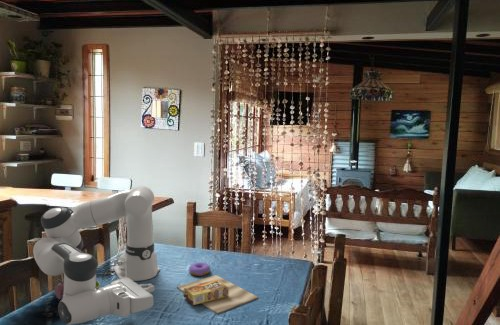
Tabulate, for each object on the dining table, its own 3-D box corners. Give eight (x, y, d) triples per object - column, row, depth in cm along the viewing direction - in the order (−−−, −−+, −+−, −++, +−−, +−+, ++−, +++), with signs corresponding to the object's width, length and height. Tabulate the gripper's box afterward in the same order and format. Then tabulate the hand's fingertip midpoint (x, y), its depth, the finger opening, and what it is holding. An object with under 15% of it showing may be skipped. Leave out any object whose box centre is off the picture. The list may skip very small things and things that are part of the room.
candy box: (192, 305, 142) (228, 297, 150) (193, 294, 141) (229, 286, 150) (183, 296, 149) (218, 288, 157) (183, 286, 149) (218, 278, 157)
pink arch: (81, 294, 154) (77, 277, 155) (85, 293, 151) (81, 275, 152) (55, 302, 147) (51, 284, 148) (58, 300, 144) (55, 282, 145)
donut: (189, 267, 180) (191, 258, 179) (208, 271, 180) (211, 262, 180) (187, 276, 170) (189, 266, 169) (207, 280, 170) (210, 270, 170)
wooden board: (176, 288, 158) (176, 286, 158) (215, 276, 171) (215, 274, 171) (217, 314, 137) (217, 312, 137) (258, 298, 151) (258, 296, 151)
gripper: (102, 296, 133) (139, 285, 142) (127, 319, 118) (167, 306, 127) (102, 278, 133) (139, 269, 142) (127, 300, 117) (167, 288, 127)
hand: (153, 286), depth 134 cm, fingers closed
